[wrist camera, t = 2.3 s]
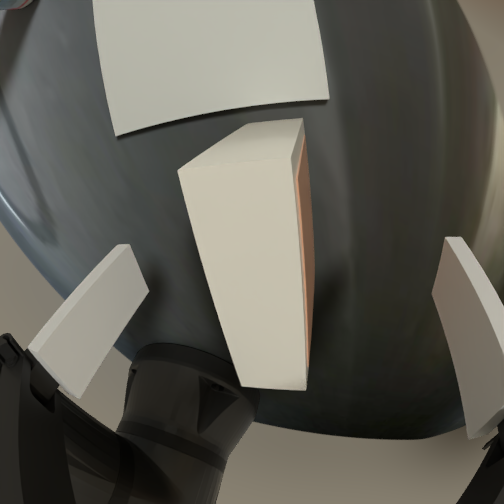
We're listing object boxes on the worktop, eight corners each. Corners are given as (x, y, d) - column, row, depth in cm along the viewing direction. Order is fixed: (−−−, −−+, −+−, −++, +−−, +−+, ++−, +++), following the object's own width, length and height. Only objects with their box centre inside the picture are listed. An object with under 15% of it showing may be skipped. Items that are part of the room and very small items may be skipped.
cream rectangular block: (315, 272, 19) (307, 390, 12) (270, 273, 20) (241, 386, 13) (303, 118, 14) (292, 157, 7) (247, 123, 15) (177, 170, 7)
